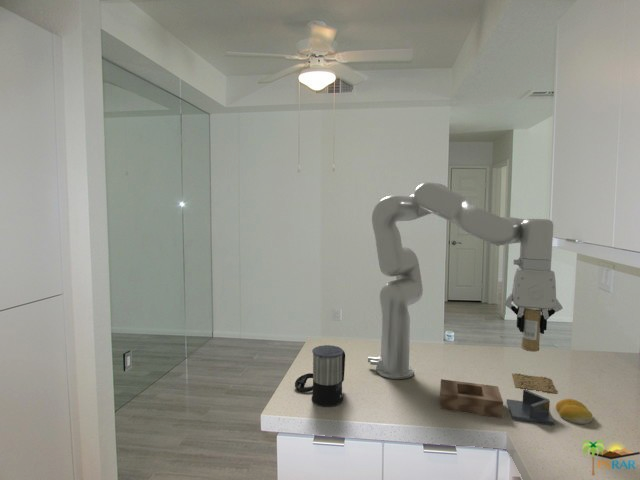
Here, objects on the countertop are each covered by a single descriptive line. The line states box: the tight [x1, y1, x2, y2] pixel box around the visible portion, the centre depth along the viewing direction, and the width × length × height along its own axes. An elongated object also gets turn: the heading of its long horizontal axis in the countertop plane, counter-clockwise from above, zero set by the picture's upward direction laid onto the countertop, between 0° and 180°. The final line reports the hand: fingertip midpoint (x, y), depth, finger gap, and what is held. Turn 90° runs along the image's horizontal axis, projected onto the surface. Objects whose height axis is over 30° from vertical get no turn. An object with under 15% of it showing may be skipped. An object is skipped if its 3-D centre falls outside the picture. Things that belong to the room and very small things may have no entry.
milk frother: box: [294, 344, 346, 408], centre depth 121 cm, size 14×16×15 cm
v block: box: [506, 389, 555, 426], centre depth 112 cm, size 10×11×4 cm
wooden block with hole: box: [439, 378, 504, 419], centre depth 116 cm, size 16×10×4 cm, turn 74°
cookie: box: [511, 373, 558, 395], centre depth 132 cm, size 12×12×1 cm
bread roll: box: [555, 398, 594, 425], centre depth 111 cm, size 8×9×4 cm
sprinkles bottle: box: [520, 307, 541, 353], centre depth 110 cm, size 5×5×13 cm
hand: (531, 330), depth 111 cm, fingers closed on sprinkles bottle, 4 cm apart
